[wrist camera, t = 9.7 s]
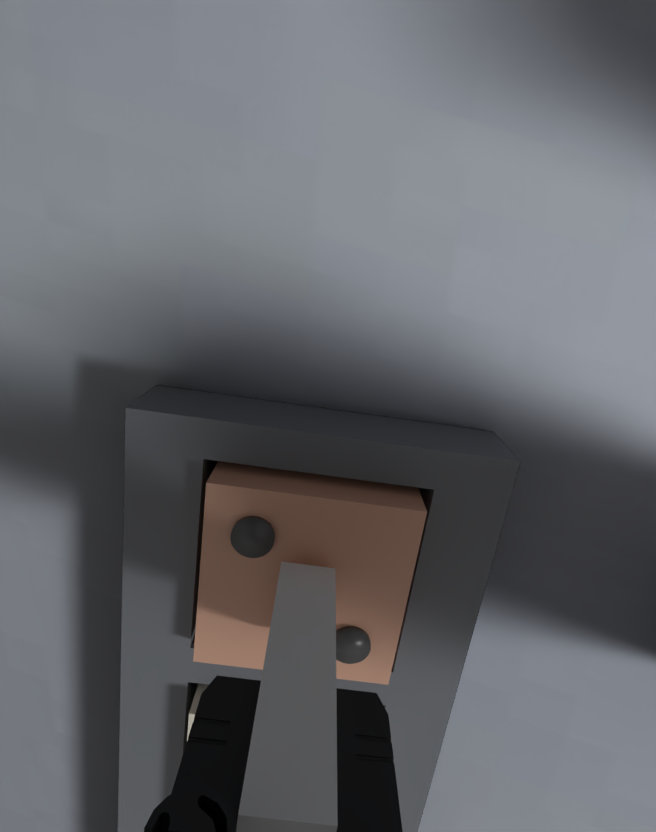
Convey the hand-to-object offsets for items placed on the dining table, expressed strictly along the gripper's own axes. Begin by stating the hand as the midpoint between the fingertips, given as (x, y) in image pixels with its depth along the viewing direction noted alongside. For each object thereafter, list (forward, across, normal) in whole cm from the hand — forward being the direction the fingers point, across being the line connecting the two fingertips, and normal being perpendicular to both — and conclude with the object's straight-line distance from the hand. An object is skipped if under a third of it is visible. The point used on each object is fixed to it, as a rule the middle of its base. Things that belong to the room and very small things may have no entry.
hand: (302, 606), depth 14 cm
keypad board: (+4, 0, -8) cm, 9 cm away
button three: (+4, 0, 0) cm, 4 cm away
